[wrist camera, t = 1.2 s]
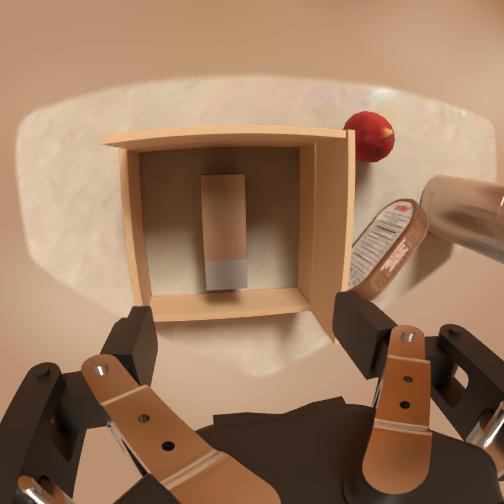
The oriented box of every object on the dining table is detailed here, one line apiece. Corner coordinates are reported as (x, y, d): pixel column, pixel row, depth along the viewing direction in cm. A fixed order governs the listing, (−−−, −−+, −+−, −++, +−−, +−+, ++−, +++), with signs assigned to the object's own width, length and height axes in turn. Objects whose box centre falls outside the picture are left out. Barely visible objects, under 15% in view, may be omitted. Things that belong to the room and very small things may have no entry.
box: (238, 173, 32) (245, 174, 26) (240, 268, 35) (247, 288, 29) (202, 174, 31) (200, 176, 25) (206, 270, 34) (206, 290, 28)
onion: (365, 169, 33) (402, 172, 26) (325, 150, 32) (358, 147, 25) (377, 128, 32) (416, 123, 25) (340, 108, 31) (374, 96, 23)
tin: (333, 291, 38) (362, 321, 30) (318, 278, 37) (346, 307, 29) (402, 206, 36) (443, 218, 28) (389, 190, 35) (430, 199, 27)
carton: (305, 140, 32) (354, 130, 20) (302, 292, 37) (340, 343, 25) (132, 146, 29) (92, 136, 17) (146, 302, 34) (124, 360, 23)
